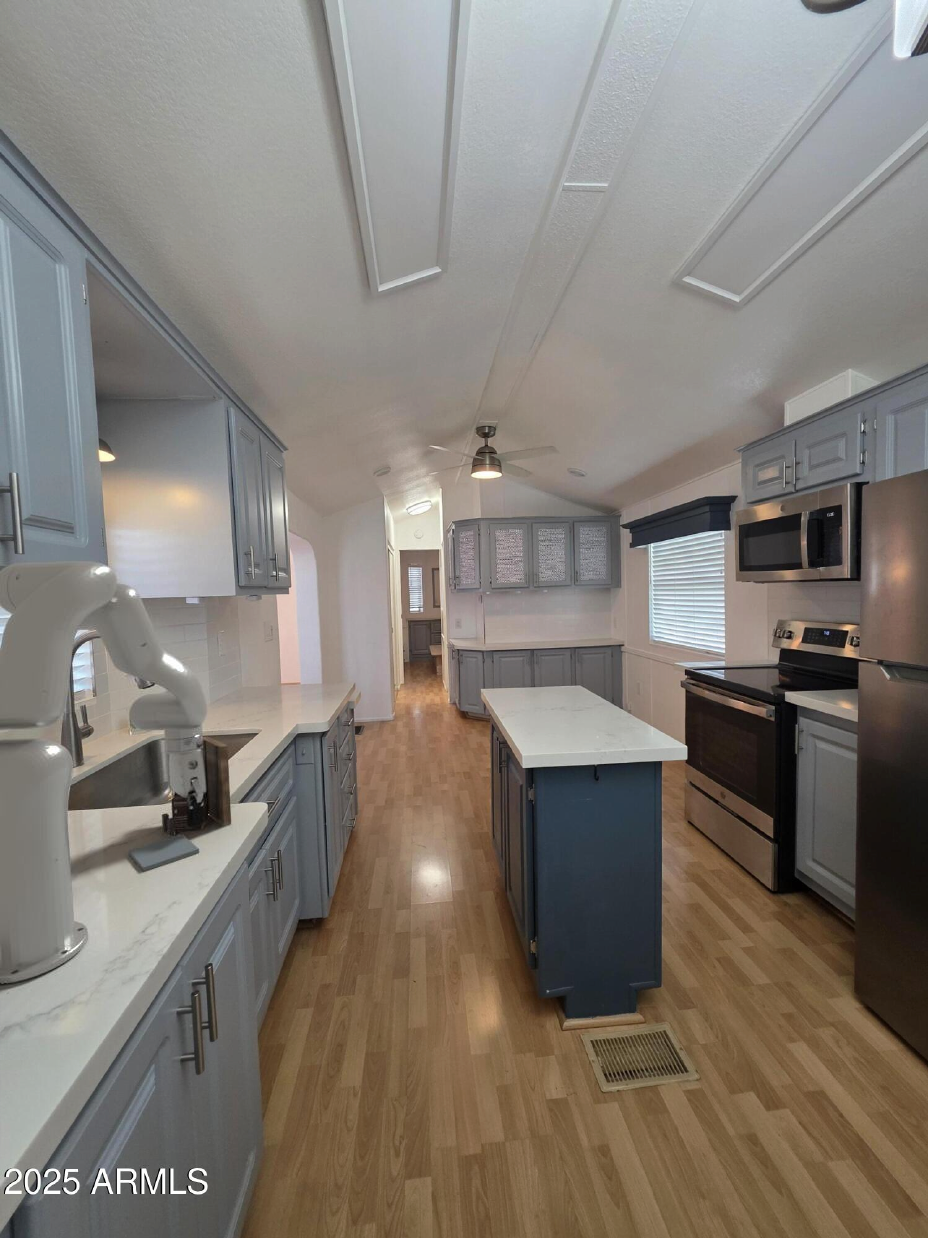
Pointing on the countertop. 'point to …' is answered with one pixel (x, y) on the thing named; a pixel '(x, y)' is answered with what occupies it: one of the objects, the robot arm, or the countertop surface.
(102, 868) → the countertop surface
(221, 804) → the brown upright panel
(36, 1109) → the countertop surface
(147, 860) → the mat
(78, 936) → the robot arm
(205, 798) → the box
